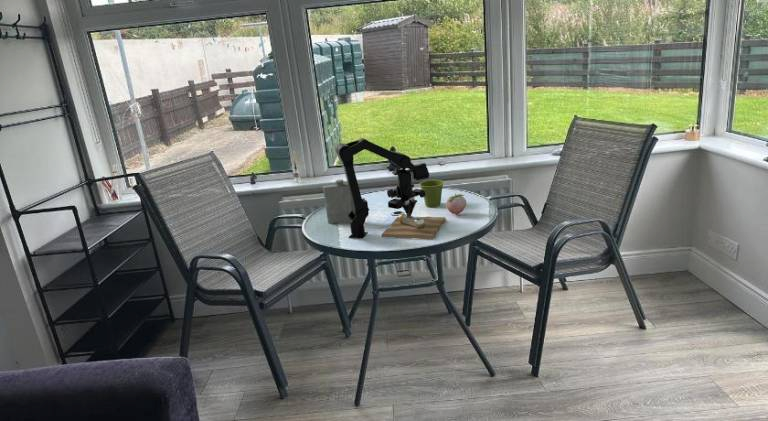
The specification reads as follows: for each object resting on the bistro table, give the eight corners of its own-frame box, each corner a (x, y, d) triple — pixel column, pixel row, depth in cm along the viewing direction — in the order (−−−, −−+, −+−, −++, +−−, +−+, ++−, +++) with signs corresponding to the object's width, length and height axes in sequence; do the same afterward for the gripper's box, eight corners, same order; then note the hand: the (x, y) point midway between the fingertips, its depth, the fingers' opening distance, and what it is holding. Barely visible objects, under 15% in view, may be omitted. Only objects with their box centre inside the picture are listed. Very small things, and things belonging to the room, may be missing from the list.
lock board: (433, 239, 203) (432, 235, 203) (381, 237, 211) (381, 233, 211) (445, 220, 223) (445, 217, 222) (398, 219, 231) (397, 216, 230)
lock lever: (426, 225, 213) (425, 219, 212) (419, 228, 211) (419, 221, 210) (404, 219, 224) (403, 213, 223) (397, 222, 221) (396, 215, 221)
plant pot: (419, 209, 241) (417, 186, 238) (423, 202, 252) (421, 180, 249) (443, 209, 238) (442, 186, 235) (447, 201, 249) (445, 179, 246)
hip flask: (327, 223, 236) (321, 182, 229) (329, 220, 239) (323, 179, 233) (360, 222, 232) (355, 180, 226) (362, 219, 236) (357, 178, 230)
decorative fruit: (455, 210, 235) (454, 189, 232) (469, 213, 229) (468, 191, 226) (442, 216, 229) (441, 195, 226) (456, 219, 223) (455, 197, 220)
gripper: (405, 175, 227) (409, 207, 232) (376, 187, 215) (381, 221, 220) (424, 177, 220) (428, 211, 225) (395, 190, 207) (400, 225, 213)
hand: (409, 217), depth 221 cm, fingers closed
